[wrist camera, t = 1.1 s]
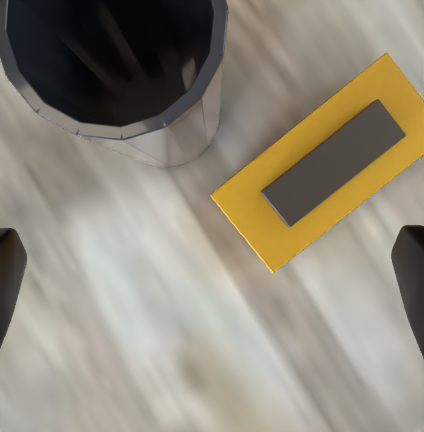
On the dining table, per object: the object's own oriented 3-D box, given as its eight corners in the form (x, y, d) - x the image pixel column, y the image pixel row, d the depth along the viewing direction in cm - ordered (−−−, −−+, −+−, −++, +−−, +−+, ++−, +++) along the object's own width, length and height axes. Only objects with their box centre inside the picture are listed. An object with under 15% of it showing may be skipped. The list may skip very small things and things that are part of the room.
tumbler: (159, 188, 23) (95, 185, 10) (92, 106, 23) (-56, 2, 10) (240, 122, 23) (274, 37, 10) (173, 37, 22) (124, -156, 10)
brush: (265, 263, 23) (275, 277, 20) (210, 194, 23) (209, 195, 19) (420, 141, 23) (459, 131, 19) (365, 69, 22) (394, 45, 19)
